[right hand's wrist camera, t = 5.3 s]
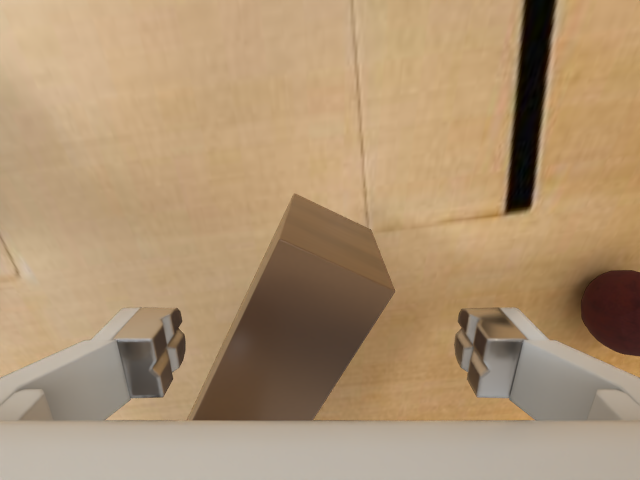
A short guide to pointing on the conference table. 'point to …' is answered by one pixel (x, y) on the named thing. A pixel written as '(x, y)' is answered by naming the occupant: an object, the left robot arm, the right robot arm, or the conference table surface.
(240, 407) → the bar
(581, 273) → the conference table surface
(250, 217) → the conference table surface
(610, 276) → the plum
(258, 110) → the conference table surface
